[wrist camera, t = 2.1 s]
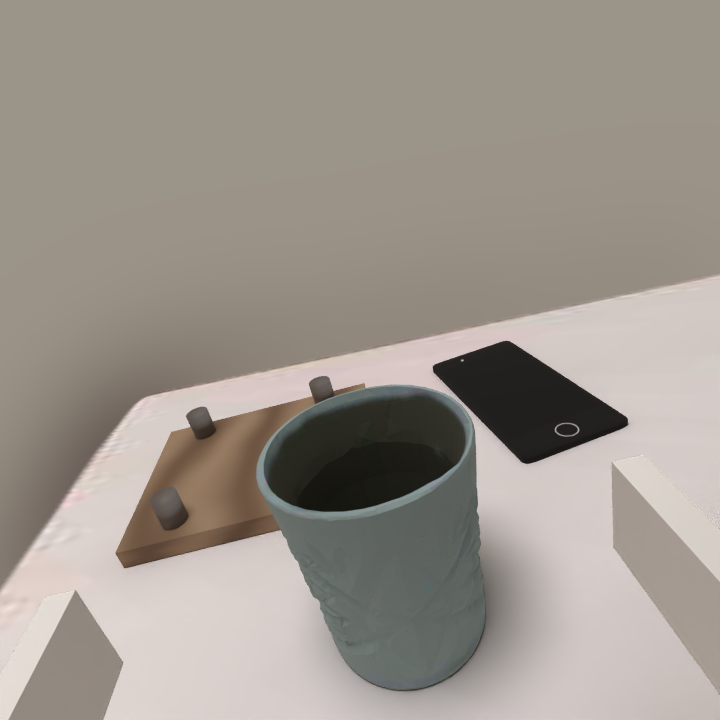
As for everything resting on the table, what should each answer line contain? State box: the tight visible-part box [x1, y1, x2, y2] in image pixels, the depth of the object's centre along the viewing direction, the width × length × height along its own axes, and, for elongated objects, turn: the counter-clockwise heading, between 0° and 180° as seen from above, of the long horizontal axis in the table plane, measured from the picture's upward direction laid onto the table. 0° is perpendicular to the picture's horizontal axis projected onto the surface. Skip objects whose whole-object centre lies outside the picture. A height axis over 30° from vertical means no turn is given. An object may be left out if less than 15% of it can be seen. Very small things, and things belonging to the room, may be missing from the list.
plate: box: [116, 376, 365, 568], centre depth 43 cm, size 20×16×4 cm
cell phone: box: [433, 341, 628, 464], centre depth 45 cm, size 9×18×1 cm, turn 15°
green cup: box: [256, 385, 486, 690], centre depth 26 cm, size 10×10×12 cm
